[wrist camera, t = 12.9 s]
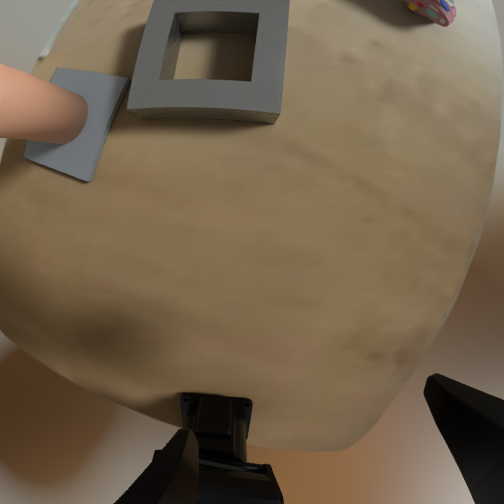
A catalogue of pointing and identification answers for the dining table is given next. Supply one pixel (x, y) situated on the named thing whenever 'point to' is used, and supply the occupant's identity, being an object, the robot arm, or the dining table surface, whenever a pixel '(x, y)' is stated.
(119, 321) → the dining table surface
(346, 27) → the dining table surface
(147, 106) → the eye block
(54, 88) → the pin
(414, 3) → the video game controller
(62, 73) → the mat
